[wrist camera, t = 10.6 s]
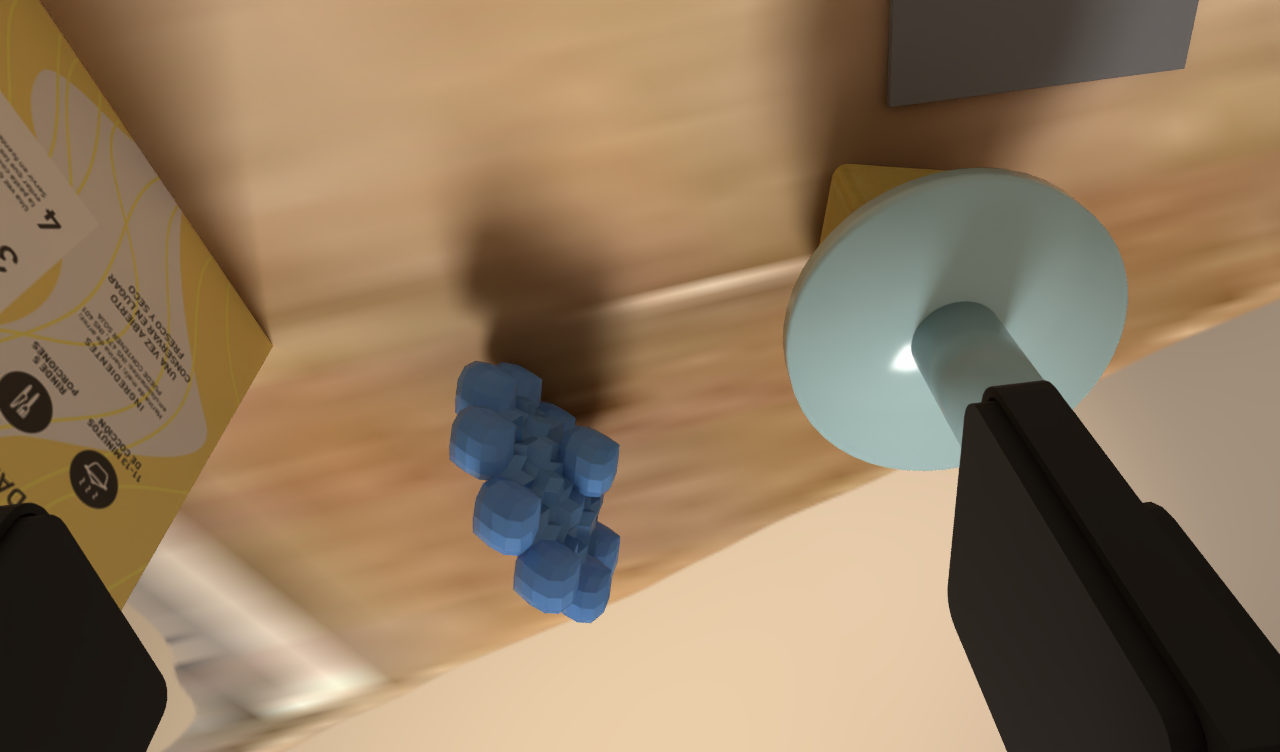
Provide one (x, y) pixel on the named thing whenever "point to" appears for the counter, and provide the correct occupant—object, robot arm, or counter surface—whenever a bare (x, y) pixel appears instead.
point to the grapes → (537, 488)
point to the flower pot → (862, 189)
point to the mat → (1028, 44)
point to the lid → (949, 311)
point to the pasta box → (102, 315)
